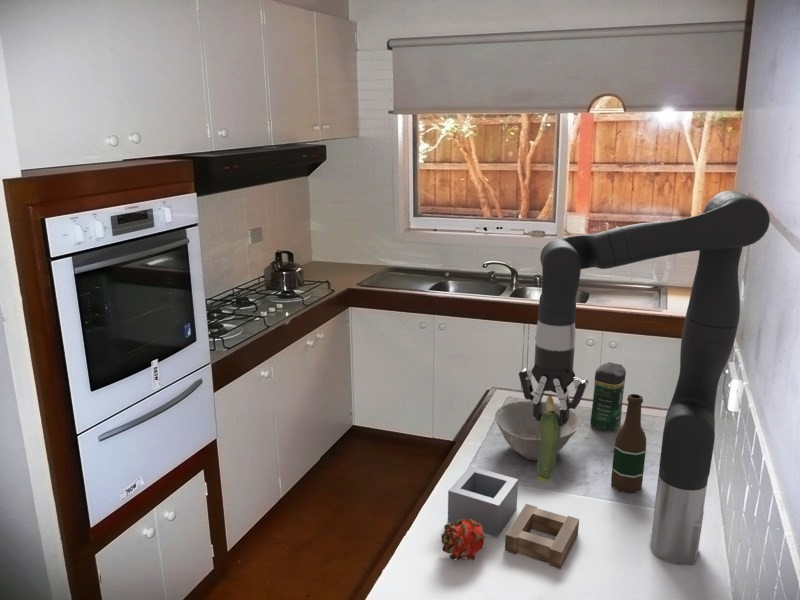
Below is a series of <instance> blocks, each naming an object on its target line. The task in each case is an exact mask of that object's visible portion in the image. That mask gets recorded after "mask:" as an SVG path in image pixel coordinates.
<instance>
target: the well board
mask: <svg viewBox="0 0 800 600" xmlns="http://www.w3.org/2000/svg"><path fill="white" fill-rule="evenodd" d="M579 525H580V519H579V518H576V517H574V516H570V515H567V516H565V515H562V514H559V513H555V512H552V511H548V510H545V509H542V508H538V507H537V506H535V505H532V504H528V503H525V505H524V506H523V508H522V509H521V511H520V512H519V514H518V515H517V517H516V518H515V520H514V521H513V523H512V524H511V526H510V528H508V530H507V531H506V533H505V540H504V552H507V553H510V554H512V555H517V554H518V555H521V556H524V557H527V558H530V559H533V560H536V561H539V562H542V563H545V564H548V566H549V567H552V568H555V569H558V570H561V569H562V567H563V565H564V564H565V561H566V559H567V558H568V555H570V554H569V553H570V551H571V549H572V548H573V546H574V543H575V542H576V540H577V538H578V535H579V527H580V526H579ZM532 530H534V531H535V532H539V533H542V534H545V535H549V536H552V537H555V538H554V540H553V539H550V538H547V537H544V536H541V535H537V534H534V533H531V531H532Z"/></svg>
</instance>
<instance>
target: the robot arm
mask: <svg viewBox="0 0 800 600" xmlns="http://www.w3.org/2000/svg"><path fill="white" fill-rule="evenodd" d="M770 221H771V219H770V214H769V211H768V209H767V208H766V206H764V204H763V203H762V202H760V201H759V200H758V199H756V198H754V197H752V196H750V195H747V194H745V193H742V192H740V191H737V190H724V191H721V192H719V193H717V194H716V195H714V196H713V197H712V198H711V199H710V200H709V201H708V202H707V204H706V205H705V208H704V209H703V213H699V214H697V215H693V216H690V217H689V216H688V217H686V218H680V219H673V220H663V221H653V222H652V221H651V222H642V223H641V222H640V223H635V224H630V225H624V226H621V227H615V228H612V229H607V230H603V231H600V232H596V233H592V234H590V233H589V234H580V235H571V236H566V237H560V238H557V239H553V240H551V241H549V242H548V243H547V244H545V245H544V247H543V248H542V250H541V252H540V257H539V258H540V265H541V268H542V274H541V279H542V281H541V294H540V296H539V301H538V315H537V316H538V318H537V324H536V325H537V326H536V330H535V331H536V332H535V345H534V347H535V349H534V364H533V367H532V368H528V367H524V368H522V369H521V370H520V371H519V373H518V376H519V381H520V385H521V389H522V392H523V397H524V399H525V400H529V401H533V404H534V405H533V416H534V417H535V418H536V419H535V420H536V421H540V417H541V415H542V409H543V402H544V401H543V399H542V398H543V397H544V395H545V392H552V393H554V394H556V397H557V399H558V400H559V404H560V406H561V409H560V418H559V426H563V425H564V424H566V423H567V421H568V420H569V410H571V409H572V410H575V409H577V407H578V406H579V404H580V403H581V400H582V397H583V396H584V393H585V391H586V389H587V387H588V384H589V380H588V379H586V378H583V379H581V378H579V377H577V376H576V374H575V372H574V360H575V348H576V347H575V346H576V311H577V295H578V290H579V284H580V279H581V272H582V271H581V270H585V269H589V268H597V269H601V270H605V269H606V270H607V269H612V268H613V269H614V268H618V267H621V266H626V265H630V264H634V263H638V262H639V263H640V262H643V261H647V260H651V259H656V258H660V257H667V256H671V255H678V254H684V253H690V252H698V259H697V260H698V261H697V266H696V270H695V274H694V278H693V283H692V287H691V291H690V296H689V300H688V305H687V309H686V314H685V318H684V323H683V328H682V334H681V341H680V356H679V357H680V358H679V373H678V379H677V382H676V385H675V390H674V391H673V396H672V399H671V402H670V404H669V405H668V406H669V407H668V410H667V412H666V414H665V420H664V426H663V431H662V432H663V433H662V441H661V449H660V451H661V452H660V458H659V467H658V468H659V469H658V476H657V485H656V493H655V502H654V509H653V510H654V511H653V517H652V518H653V519H652V526H651V533H650V542H649V543H650V544H649V547H650V550H651V551H652V552H653V554H654V555H656V557H658V558H660V560H661V559H662V560H663V561H665V562H668V563H672V564H677V565H678V564H679V565H686V564H687V565H696V562H697V558H698V553H699V548H700V541H701V534H702V528H703V520H704V514H705V513H704V512H705V510H704V509H705V500H706V494H707V486H708V482H709V481H708V480H709V477H710V472H711V466H712V461H713V453H714V446H715V440H716V439H715V437H716V419H715V418H716V417H715V415H716V414H715V410H716V401H717V394H718V393H717V392H718V385H719V383H720V382H719V381H720V379H721V376H722V374H723V372H724V370H725V367H726V366H727V364H728V360H729V358H730V356H731V354H732V351H733V347H734V344H735V339H736V335H737V332H738V331H737V330H738V326H739V322H740V315H741V312H740V311H741V302H740V301H741V299H740V297H741V295H740V284H739V266H740V261H741V260H740V259H741V256H742V253H743V248H744V247H749V246H751V245H753V244H755V243H757V242H759V241H760V240H761V239H762V238H763V237H764V236H765V234H766V233H767V231H768V229H769V226H770ZM532 378H534V380H535V381H536V382H537V384H538V385H537V388H536V390H535V391H534V387H533V384H532ZM572 383H573V385H574V386H573V388H574V389H575V390H576V391H575V393H574V395H573V398H572V399H570V396H569V394H570V392H569V388H568V387H569V386H570V385H571V384H572Z"/></svg>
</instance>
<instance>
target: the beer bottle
mask: <svg viewBox="0 0 800 600" xmlns="http://www.w3.org/2000/svg"><path fill="white" fill-rule="evenodd" d="M626 400H627V407H626V413H625V417H624V418H625V419H624V422H623V424H622V425H621V426H619V427H618V430H617V432H616V434H615V438H614V446H613V457H612V465H611V466H612V467H611V476H610V477H611V478H610V479H611V481H610V485H611V486H612V487H613V488H614V489H616V490H617V491H618V492H621V493H626V494H627V493H628V494H631V493H632V494H635V493H638V492H641V490H642V486H643V481H644V480H643V479H644V470H645V461H646V453H647V436H646V433H645V430H644V429H643V428H642V427H643V426H642V422H641V419H642V404H643V402H644V398H643V396H642V395H640V394H637V393H631V394H628V395H627V399H626ZM637 491H638V492H637Z"/></svg>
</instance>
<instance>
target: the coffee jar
mask: <svg viewBox="0 0 800 600" xmlns="http://www.w3.org/2000/svg"><path fill="white" fill-rule="evenodd" d="M626 374H627V370H626V368H625V367H624V366H623V365H622V364H618V363H615V362H606V363H604V364H602V365H600V366H599V367H598V368H597V369H596V370H595V375H594V383H593V384H594V386H593V395H592V396H593V397H592V406H591V415H590V420H589V424H590V427H592V428H594V429H595V430H597V431H600V432H610V433H611V432H614V431H616V430H617V429H619V428H620V424H621V422H622V412H623V411H622V410H623V401H624V399H623V398H624V393H625V392H624V390H625V385H626V384H625V383H626Z"/></svg>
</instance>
